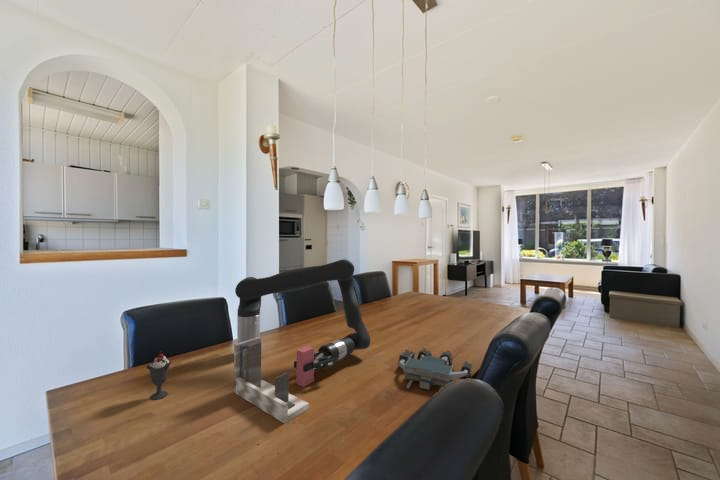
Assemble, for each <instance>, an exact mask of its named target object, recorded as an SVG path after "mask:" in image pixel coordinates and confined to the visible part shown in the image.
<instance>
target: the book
mask: <svg viewBox="0 0 720 480" xmlns="http://www.w3.org/2000/svg"><path fill="white" fill-rule="evenodd" d="M314 352H315V347H312V346H310V345H309V346H308V345H306V346H304V347H302V348H301V347H300V348H298V349H296V361H297V368H295V369H296V371H295V372H296V375H295V376H296V377H295V378H296V379H295V380H296V385H298V386H300V387H302V388H304V387H307V386H308V385H310V384H312V383H314V381H315V376H314V375H315V369H311V370H309V371H307V372H304V371H303V366H304V365H306V364H308V363H310V362H312V363H313V361H314Z"/></svg>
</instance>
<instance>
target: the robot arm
mask: <svg viewBox="0 0 720 480" xmlns="http://www.w3.org/2000/svg"><path fill="white" fill-rule="evenodd" d="M354 274H355V266H354V264H353V262H352V261H350V260H348V259H345V258H343V259H339V260H336V261H333V262H329V263H326V264H323V265H322V264H321V265H314V266H313V265H312V266H304V267H298V268H294V269H289V270H285V271H282V272H280V273H277V274H273V275H271V276H267V277H262V278H261V277H260V278H259V277H258V278H257V277H254V276H247V277H245V278H243V279H241V280H240V281H239V282H238V283H237V284H236V287H235V292H234V293H235V295H236V297H237V298H239V304H238V308H237V314H236V315H237V318H236V320H237V326H236V327H237V328H236V329H237V331H236V332H237V337H236V340H237V341H236V344H237V343H240V342H244V341H247V340H250V339H254V338H257V337H260V338H261V334H260V333H261V307H262V297H264V296H268V295H272V294H279V293H280V294H281V293H287V292H294V291H298V290H304V289H307V288H311V287H313V286H317V285H319V284H321V283H325V282H331V281H332V282H333V281H336V282H337V283H338V287H339V290H340V295H341V297H342V298H341V299H342V304H343V311H344V317H345V321H346V326H347V327H348V328H349V329H353V330H354V332H353V333H349V334H348V335H345V336H344V337H342V338H340V339H337V340H334V341H331V342H328V343H326V344H323V345H321V346H320V347H319V348H318V350H317V351H314V361H313V363H312V362H310V363H308V364H306V365H304V366H303V371H304V372H307V371H309V370H311V369H314V370H316V369H317V371H320V370H321V371H322V370H325V369H329V368H332V367H333V364H335V363H336V362H339V361H341V360H342V359H344V358H345V357H347V356H350V355H351V354H352V353H354V351H356V350H366V349H368V348H369V347H370V346H371V336H370V333H369V331H368V329H367V327H366V326H365V323H364V321H363V317H362V313H361V308H360V305H359V302H358V301H359V300H358V299H357V297H358V296H357V295H356V291H355V286H354ZM293 368H295V369H297V360H294V362H293Z"/></svg>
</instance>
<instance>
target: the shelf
mask: <svg viewBox="0 0 720 480" xmlns="http://www.w3.org/2000/svg"><path fill="white" fill-rule="evenodd" d="M233 345H234V346H233V348H234V349H233V353H234V354H233V360H234V361H233V393H234V394H236V395H238V396H239V397H241V399H244V400H246V401H247V402H249V403H250V404H252V405H254V406H255V407H257V408H258V409H260V410H261V411H263V412H265V413H267V415H269V416H271V417H273V418H274V419H276V420H278V421H279V422H281V423H283V424H286V423H287V422H289V421H291V420H293V419H294V418H296V417H297V416H299V415H301V414H302V413H304V412H306V411H307V410H309V409H310V403H309V402H307V401H305V400H303V399H302V398H301V399H300V398H298V397H297V396H295V395H293V394H291V393H290V392H289V385H290V384H289V379H290V378H289V377H290V374H289V373H290V372H287V371H286V372H284V373H283V374H280V375H277V376H276V377H274V385H273V384H272V383H270V382H267V381H265V380H264V379H263V378H262V338H261V336H260V337H257V338H254V339H250V340H247V341H244V342H240V343H237V342H236V343H235V344H233Z"/></svg>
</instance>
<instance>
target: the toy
mask: <svg viewBox="0 0 720 480" xmlns="http://www.w3.org/2000/svg"><path fill="white" fill-rule="evenodd" d="M415 354H416V353H415V352H414V351H410V349H405V350H404V351H402V353H401V354H399V358H398V362H397V363H398V366H399V368H400V369H402V370H403V374H404V378H405V380H408V381H409V382H408V383H407V385H406V388H407V389H410V388H411V386H412V384H413V383H414V381H415V382H419V388H420V389H423V390H427V391H429V390H430V389H431V388H432V386H438V387H439V390H440V389H441V388H442V387H444V386H445V385H446V384H448V383H450V382H452V381H453V382H454V380H456V379H459V378H463V377H467V378H469V377H470V374H471V371H472V368H473V366H474V365H473V364H472V363H470V362H468V361H467V360H464V361H463V363H462V366H461V368H460V371H455V369H454V365H452V362H453V357H452V354H451V351H450V350H446V351H442V352H441V354H440V356H439V357H437V356H433V354H432V352H431V351H430V350H428V351H427V348H424V347H423V348H422V349H421V350H419V352H418V355H417V357H416V358H415ZM444 388H445V387H444Z"/></svg>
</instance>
